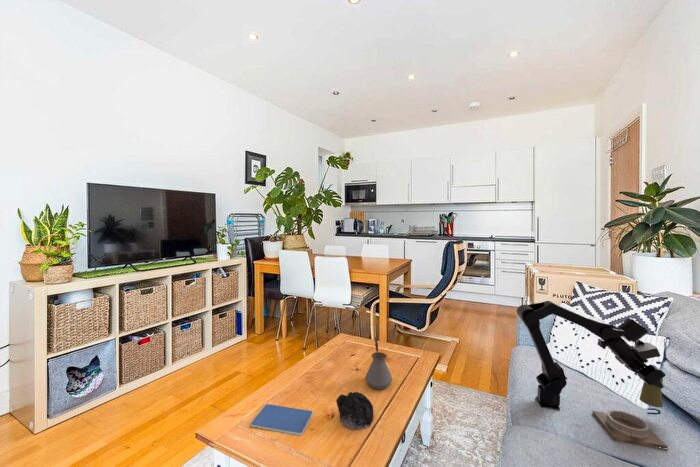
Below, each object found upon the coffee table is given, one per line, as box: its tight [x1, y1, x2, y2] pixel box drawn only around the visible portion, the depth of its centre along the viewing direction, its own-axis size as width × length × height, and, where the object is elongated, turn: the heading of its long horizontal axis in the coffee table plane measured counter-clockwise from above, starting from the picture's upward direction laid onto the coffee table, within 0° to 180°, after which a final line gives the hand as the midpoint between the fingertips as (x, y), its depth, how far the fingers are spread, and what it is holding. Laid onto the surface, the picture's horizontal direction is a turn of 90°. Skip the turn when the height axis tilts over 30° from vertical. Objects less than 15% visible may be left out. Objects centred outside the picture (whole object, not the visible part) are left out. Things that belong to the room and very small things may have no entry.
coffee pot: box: [365, 336, 393, 390], centre depth 135 cm, size 21×12×15 cm, turn 0°
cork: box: [639, 377, 664, 408], centre depth 109 cm, size 6×6×11 cm
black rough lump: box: [335, 391, 375, 430], centre depth 108 cm, size 13×14×10 cm
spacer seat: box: [592, 409, 669, 449], centre depth 103 cm, size 14×14×4 cm
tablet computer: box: [249, 403, 314, 437], centre depth 107 cm, size 19×13×1 cm, turn 78°
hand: (657, 383), depth 109 cm, fingers closed on cork, 5 cm apart
